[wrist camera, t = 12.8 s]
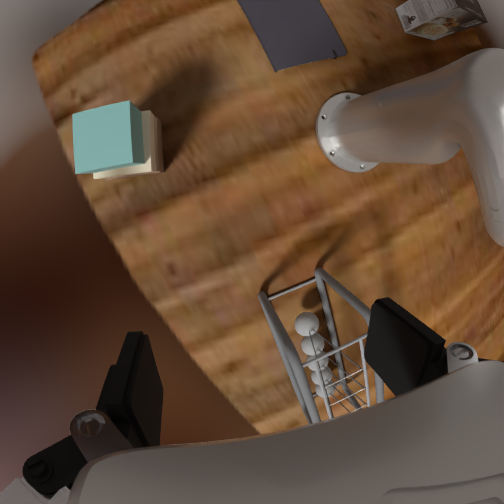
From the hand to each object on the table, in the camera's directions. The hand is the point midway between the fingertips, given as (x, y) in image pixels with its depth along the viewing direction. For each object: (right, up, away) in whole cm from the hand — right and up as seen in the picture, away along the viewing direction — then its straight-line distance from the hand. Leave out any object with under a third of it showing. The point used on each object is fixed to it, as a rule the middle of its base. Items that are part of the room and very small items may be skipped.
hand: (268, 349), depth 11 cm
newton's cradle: (+10, -13, +38) cm, 41 cm away
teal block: (-14, +15, +15) cm, 25 cm away
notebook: (+4, +41, +22) cm, 47 cm away
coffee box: (+32, +49, +24) cm, 63 cm away
